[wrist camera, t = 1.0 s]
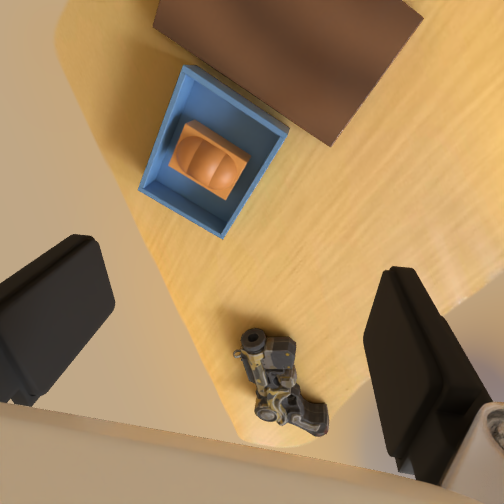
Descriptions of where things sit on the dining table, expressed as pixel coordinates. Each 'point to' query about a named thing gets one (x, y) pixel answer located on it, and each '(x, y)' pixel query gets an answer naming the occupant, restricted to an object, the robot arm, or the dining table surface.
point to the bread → (208, 159)
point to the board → (295, 50)
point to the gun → (279, 383)
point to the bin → (224, 124)
